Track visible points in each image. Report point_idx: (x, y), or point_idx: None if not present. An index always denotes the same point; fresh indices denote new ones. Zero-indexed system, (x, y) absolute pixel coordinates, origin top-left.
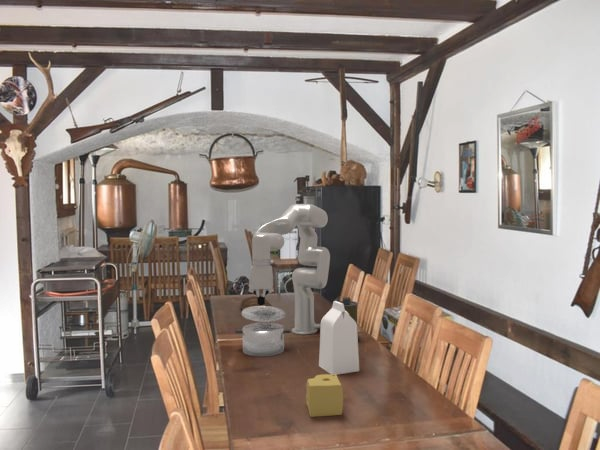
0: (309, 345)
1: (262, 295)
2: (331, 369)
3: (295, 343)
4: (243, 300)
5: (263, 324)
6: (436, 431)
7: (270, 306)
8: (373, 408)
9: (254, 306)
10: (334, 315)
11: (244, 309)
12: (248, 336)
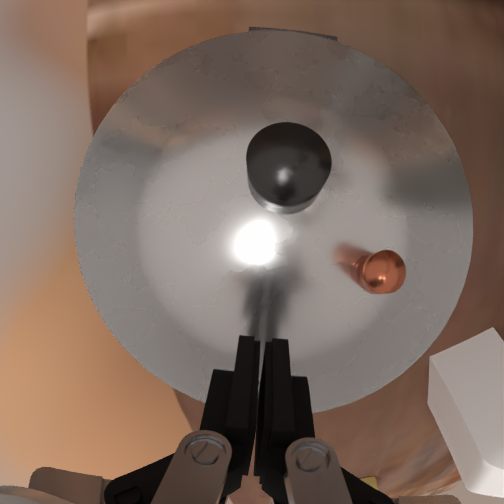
0: (466, 138)
1: (273, 500)
2: (431, 408)
3: (420, 93)
4: None
5: None
6: (430, 489)
7: (356, 398)
8: (410, 475)
9: (188, 393)
10: (496, 488)
11: (94, 296)
12: None
